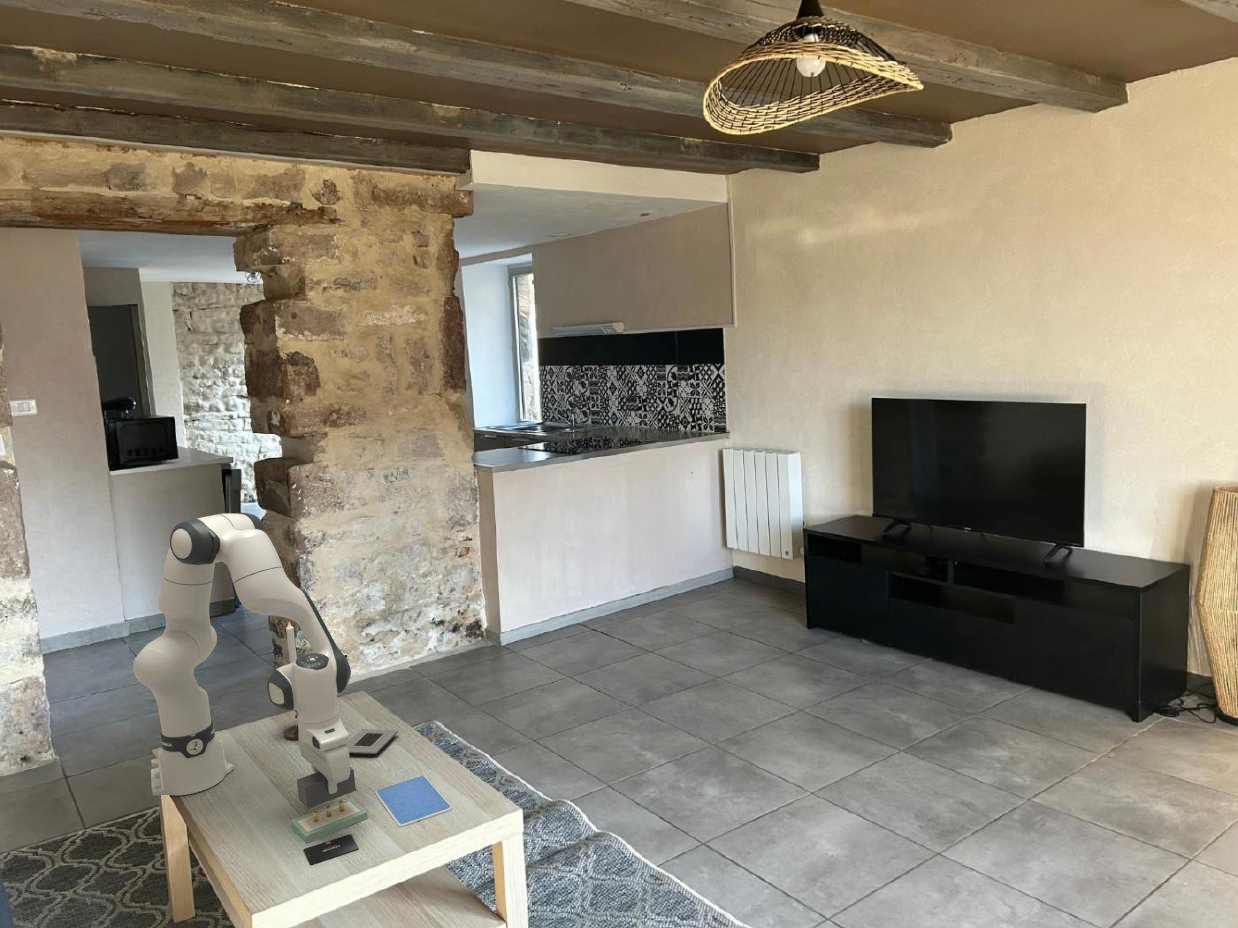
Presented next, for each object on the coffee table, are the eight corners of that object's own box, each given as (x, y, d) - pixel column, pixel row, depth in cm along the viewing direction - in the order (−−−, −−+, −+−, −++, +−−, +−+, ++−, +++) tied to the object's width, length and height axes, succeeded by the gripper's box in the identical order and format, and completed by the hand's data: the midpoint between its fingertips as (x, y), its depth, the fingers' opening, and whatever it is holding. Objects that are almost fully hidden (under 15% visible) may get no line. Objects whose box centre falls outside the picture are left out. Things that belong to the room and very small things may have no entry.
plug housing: (299, 800, 198) (296, 779, 197) (346, 782, 204) (344, 762, 204) (307, 809, 194) (305, 787, 193) (356, 790, 201) (353, 769, 200)
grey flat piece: (376, 760, 230) (375, 751, 230) (338, 758, 232) (338, 749, 232) (398, 737, 243) (398, 729, 242) (363, 736, 245) (362, 727, 244)
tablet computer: (454, 812, 202) (453, 806, 202) (399, 830, 196) (399, 825, 196) (425, 779, 219) (424, 773, 219) (373, 795, 212) (373, 789, 212)
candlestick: (294, 724, 254) (280, 604, 249) (329, 725, 252) (316, 605, 247) (272, 741, 244) (258, 617, 239) (308, 742, 241) (295, 617, 237)
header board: (291, 826, 199) (289, 809, 198) (351, 803, 208) (349, 787, 207) (306, 842, 192) (304, 825, 191) (367, 817, 201) (366, 801, 200)
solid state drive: (303, 851, 189) (302, 848, 189) (351, 836, 194) (350, 833, 194) (310, 867, 183) (310, 864, 183) (359, 851, 188) (359, 848, 188)
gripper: (288, 718, 203) (295, 776, 205) (323, 746, 187) (330, 808, 189) (315, 710, 207) (322, 766, 209) (352, 737, 191) (359, 797, 193)
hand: (326, 786), depth 199 cm, fingers closed on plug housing, 5 cm apart
